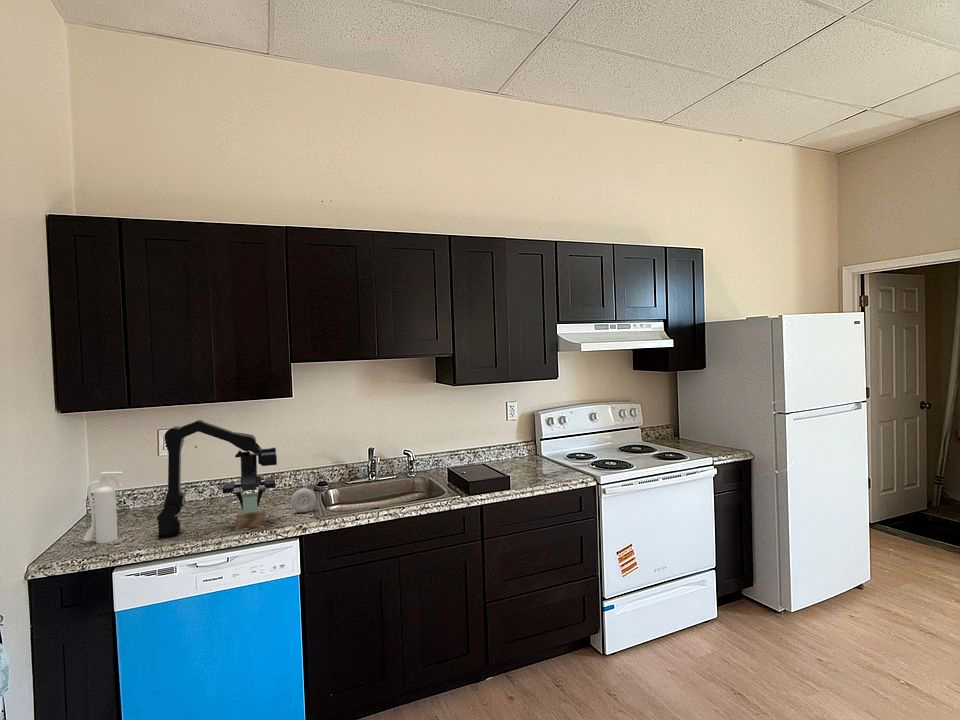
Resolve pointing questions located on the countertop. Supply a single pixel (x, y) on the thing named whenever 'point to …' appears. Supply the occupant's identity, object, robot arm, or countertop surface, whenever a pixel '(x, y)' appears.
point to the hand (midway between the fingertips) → (250, 507)
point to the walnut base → (250, 519)
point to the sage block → (250, 503)
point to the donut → (306, 506)
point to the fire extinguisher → (103, 509)
